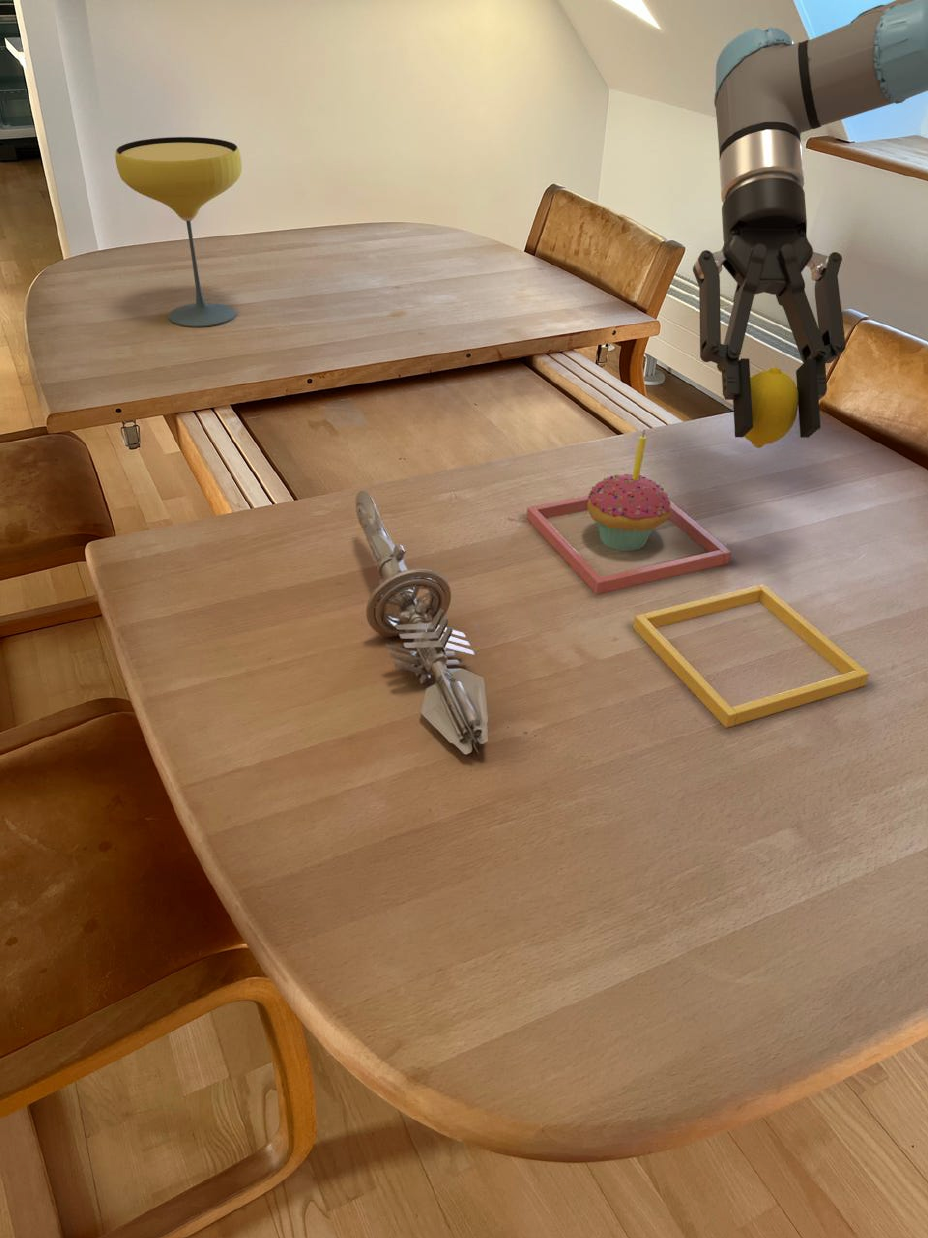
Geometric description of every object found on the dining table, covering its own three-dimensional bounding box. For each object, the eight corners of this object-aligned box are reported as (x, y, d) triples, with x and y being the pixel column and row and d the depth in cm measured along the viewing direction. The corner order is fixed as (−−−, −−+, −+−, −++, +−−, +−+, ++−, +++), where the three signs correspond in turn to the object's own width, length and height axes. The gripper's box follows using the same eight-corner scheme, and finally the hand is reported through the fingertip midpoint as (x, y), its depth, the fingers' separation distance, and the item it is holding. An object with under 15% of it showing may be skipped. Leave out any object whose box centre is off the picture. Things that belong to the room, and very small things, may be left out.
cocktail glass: (267, 298, 161) (251, 138, 146) (245, 337, 147) (223, 163, 131) (163, 295, 161) (135, 134, 146) (130, 333, 147) (95, 159, 132)
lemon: (722, 452, 89) (739, 371, 84) (735, 430, 93) (752, 352, 88) (781, 465, 87) (801, 383, 83) (792, 442, 91) (812, 363, 87)
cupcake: (596, 513, 104) (609, 412, 97) (671, 530, 102) (690, 428, 94) (573, 551, 98) (585, 446, 90) (653, 570, 95) (672, 464, 88)
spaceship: (406, 469, 96) (334, 453, 91) (541, 714, 72) (453, 708, 68) (377, 531, 100) (308, 519, 96) (497, 783, 76) (411, 781, 72)
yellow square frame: (759, 600, 92) (763, 583, 91) (863, 691, 82) (869, 673, 80) (631, 632, 87) (634, 615, 86) (724, 733, 77) (729, 715, 76)
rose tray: (647, 498, 108) (649, 483, 107) (727, 568, 97) (731, 552, 96) (526, 523, 103) (527, 507, 102) (595, 599, 92) (598, 582, 90)
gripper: (840, 220, 93) (857, 446, 89) (656, 218, 92) (666, 445, 89) (876, 174, 85) (896, 418, 82) (676, 171, 85) (689, 417, 81)
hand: (777, 431), depth 85 cm, fingers closed on lemon, 5 cm apart
